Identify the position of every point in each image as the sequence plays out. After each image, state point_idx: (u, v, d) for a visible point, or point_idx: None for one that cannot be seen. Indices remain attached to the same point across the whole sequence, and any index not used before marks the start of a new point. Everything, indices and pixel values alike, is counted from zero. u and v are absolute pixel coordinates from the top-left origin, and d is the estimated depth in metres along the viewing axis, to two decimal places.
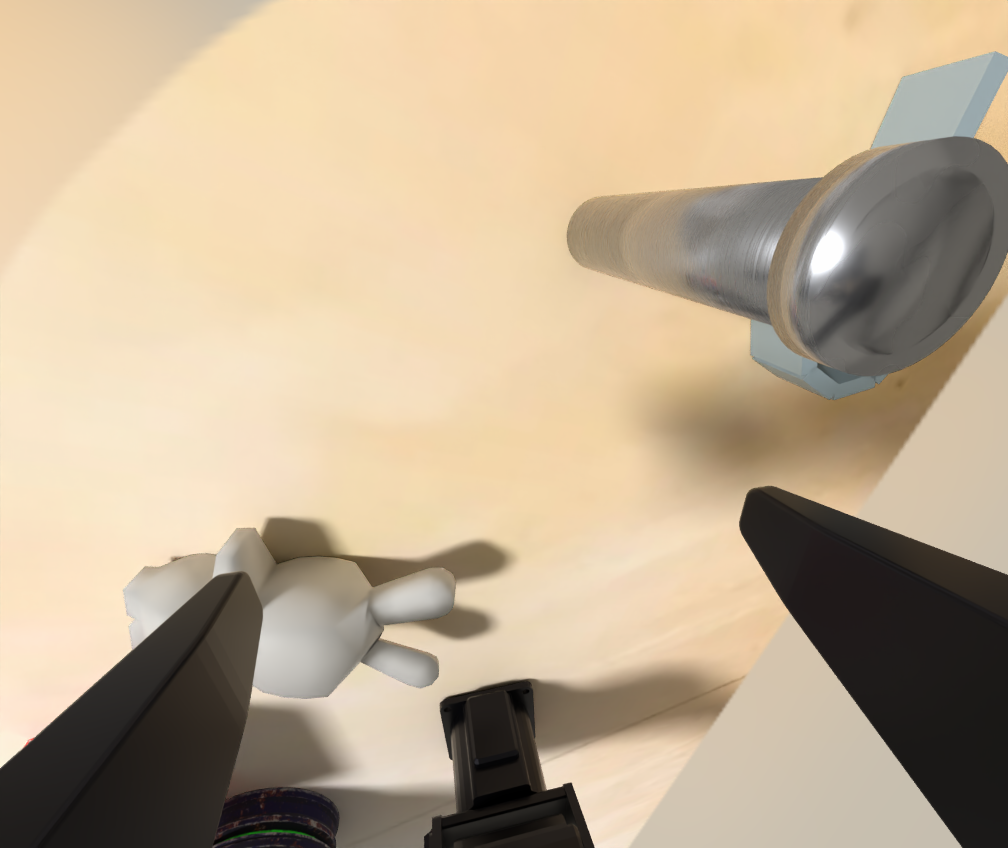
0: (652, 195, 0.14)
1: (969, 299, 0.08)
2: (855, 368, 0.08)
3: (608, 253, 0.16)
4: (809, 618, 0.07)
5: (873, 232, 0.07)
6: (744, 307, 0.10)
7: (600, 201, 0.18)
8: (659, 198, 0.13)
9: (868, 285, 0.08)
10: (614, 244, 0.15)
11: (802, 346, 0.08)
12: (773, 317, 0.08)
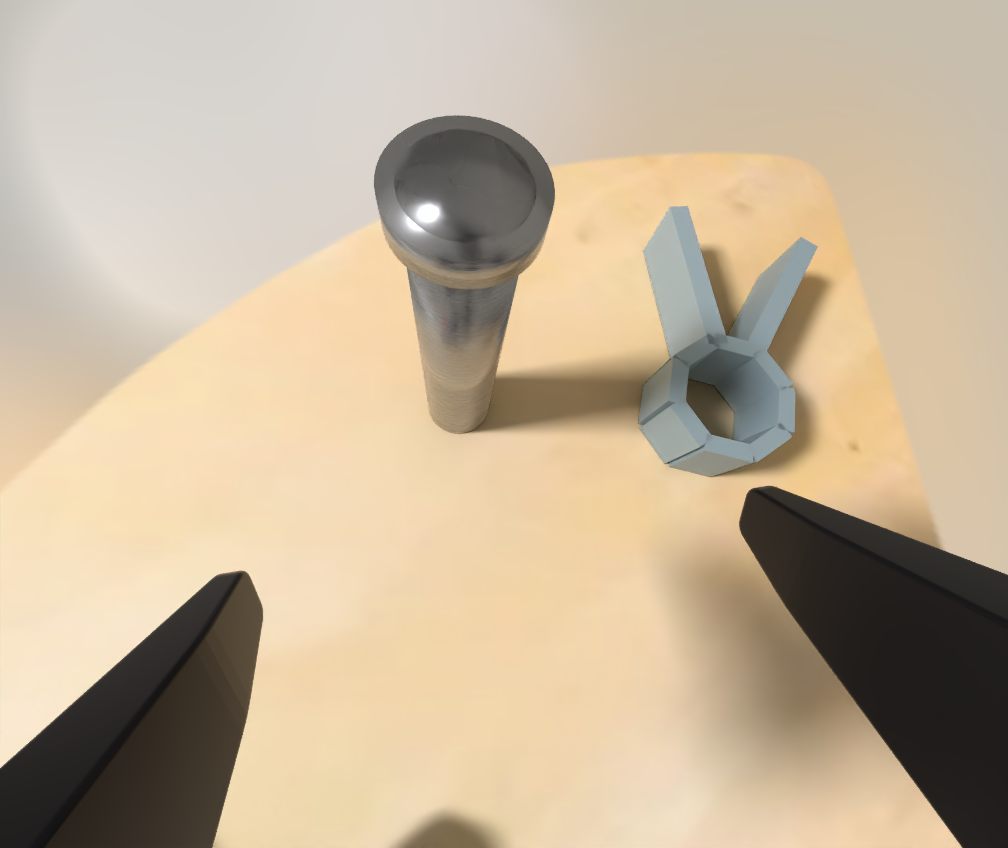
0: None
1: (540, 191, 0.10)
2: (469, 254, 0.09)
3: (429, 386, 0.18)
4: (809, 618, 0.07)
5: (411, 170, 0.09)
6: (435, 301, 0.11)
7: None
8: None
9: (433, 199, 0.09)
10: (424, 373, 0.18)
11: (425, 263, 0.09)
12: (405, 263, 0.10)
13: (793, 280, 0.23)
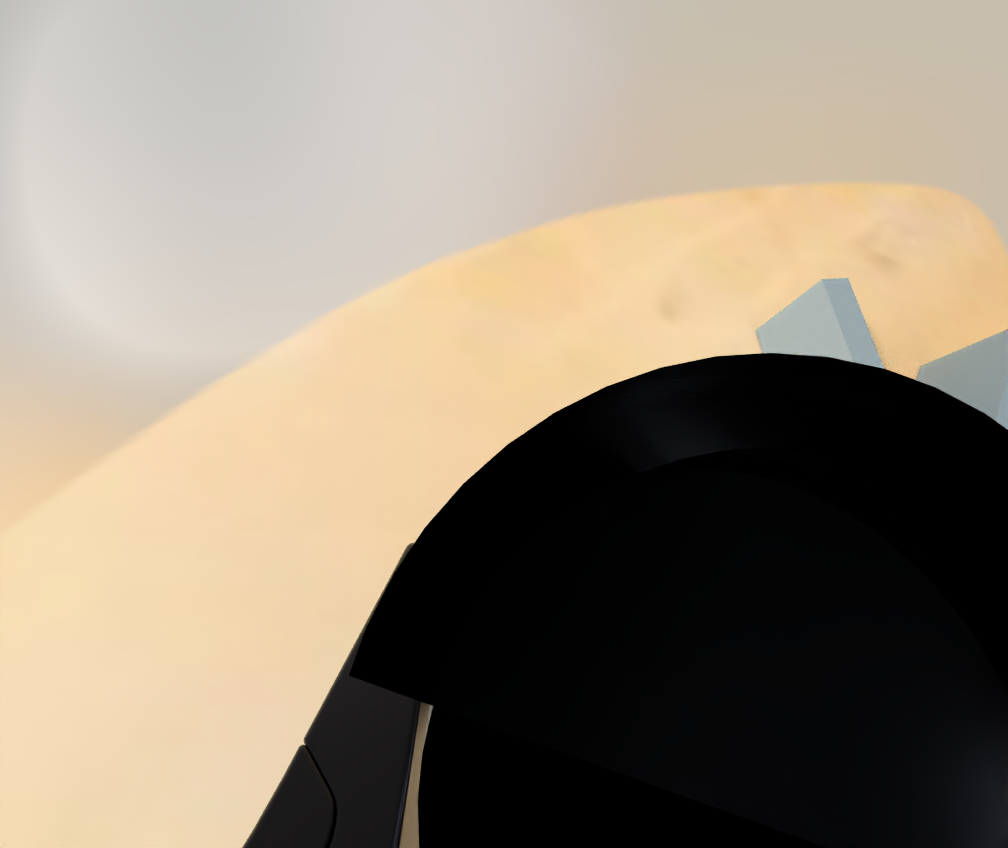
0: None
1: None
2: None
3: None
4: None
5: None
6: None
7: None
8: None
9: None
10: None
11: None
12: None
13: None
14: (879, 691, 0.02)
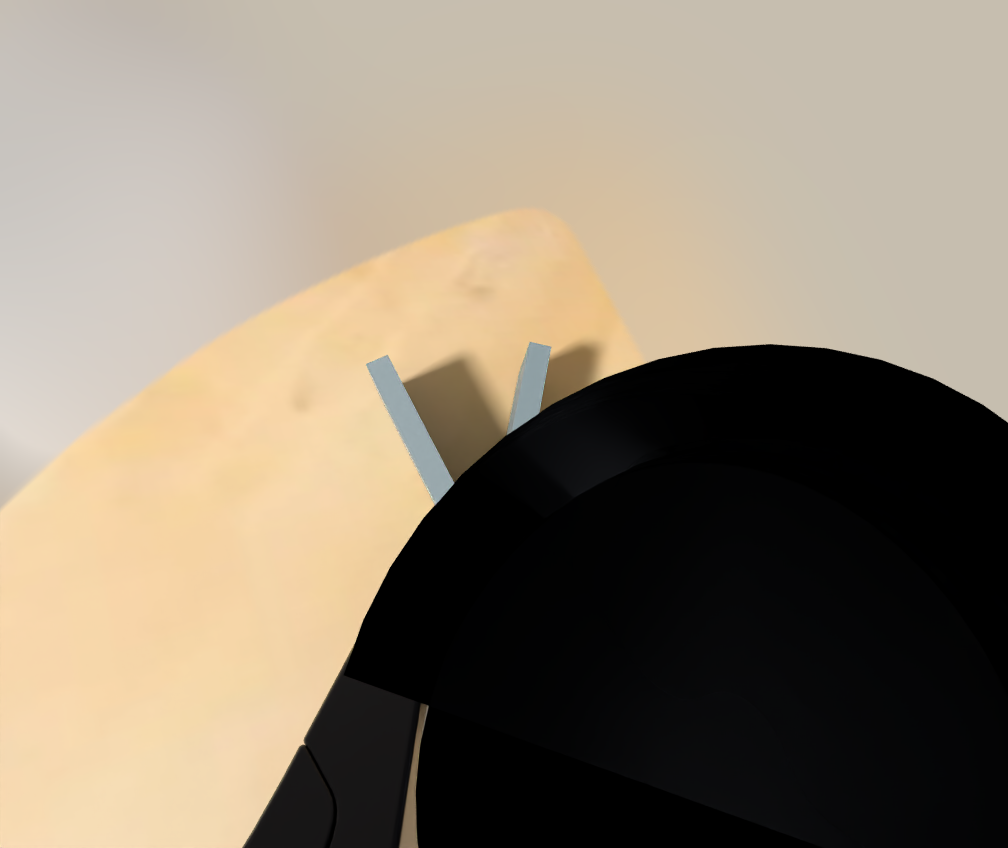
0: None
1: None
2: None
3: None
4: None
5: None
6: None
7: None
8: None
9: None
10: None
11: None
12: None
13: (532, 403, 0.20)
14: (875, 683, 0.02)
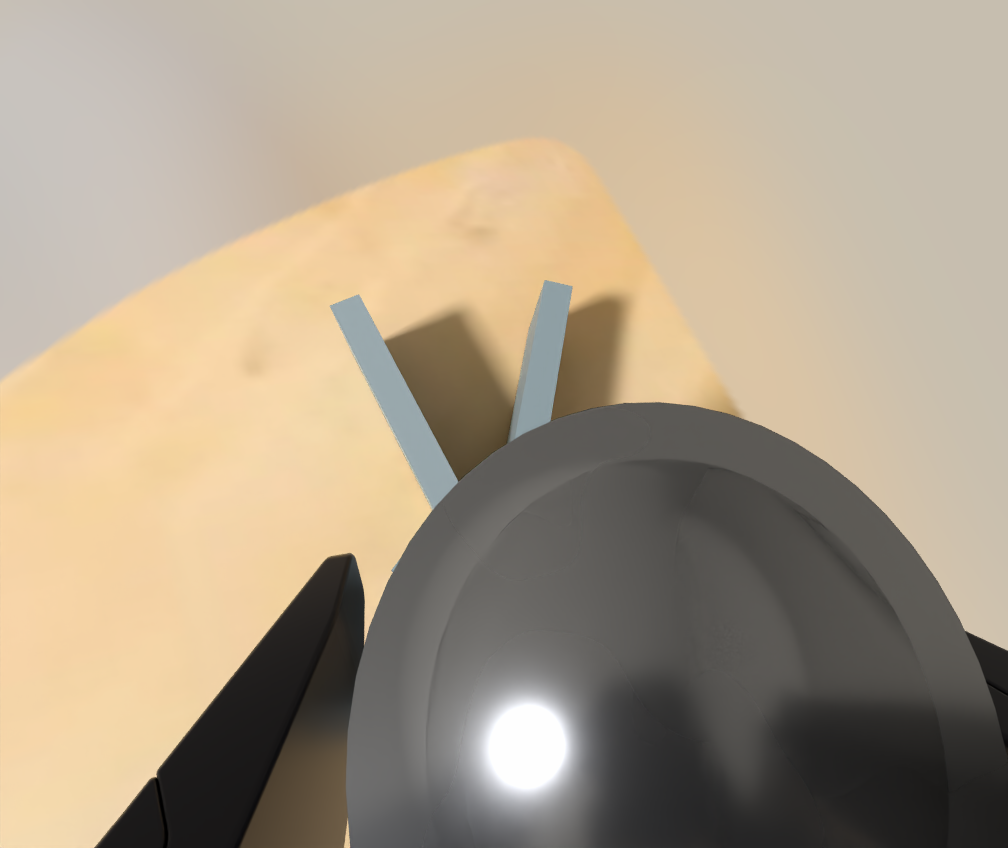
0: None
1: (951, 716, 0.03)
2: None
3: None
4: None
5: (491, 680, 0.02)
6: None
7: None
8: None
9: (585, 828, 0.02)
10: None
11: None
12: None
13: (550, 356, 0.15)
14: None
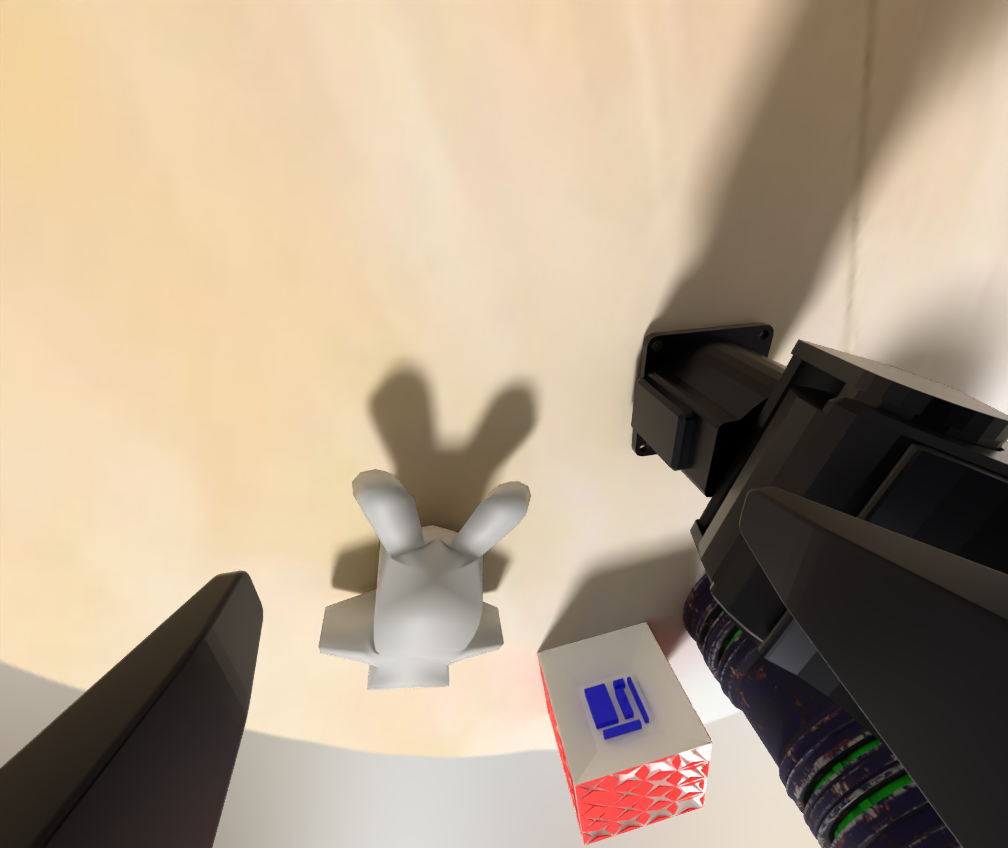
0: None
1: None
2: None
3: None
4: (809, 618, 0.07)
5: None
6: None
7: None
8: None
9: None
10: None
11: None
12: None
13: None
14: None
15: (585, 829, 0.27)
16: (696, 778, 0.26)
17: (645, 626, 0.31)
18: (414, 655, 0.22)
